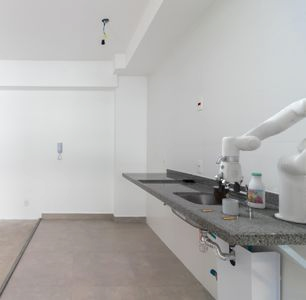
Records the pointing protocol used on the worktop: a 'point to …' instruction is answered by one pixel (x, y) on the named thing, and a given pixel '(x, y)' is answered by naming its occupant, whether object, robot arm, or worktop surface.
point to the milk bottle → (256, 192)
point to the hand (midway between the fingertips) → (229, 192)
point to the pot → (230, 206)
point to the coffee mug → (220, 194)
